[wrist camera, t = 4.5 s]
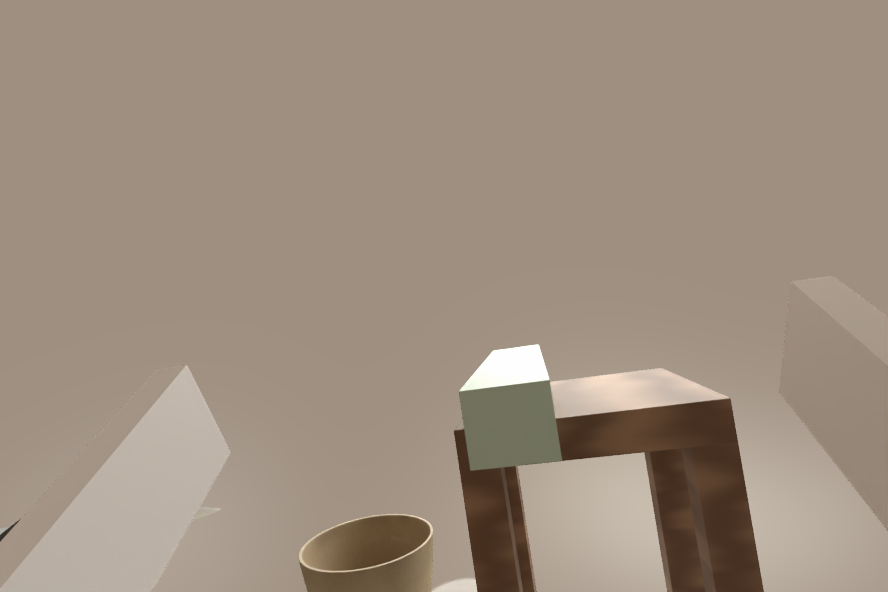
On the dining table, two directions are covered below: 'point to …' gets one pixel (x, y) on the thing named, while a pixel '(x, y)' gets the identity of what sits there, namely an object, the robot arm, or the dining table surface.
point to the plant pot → (370, 556)
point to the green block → (510, 411)
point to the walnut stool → (669, 469)
